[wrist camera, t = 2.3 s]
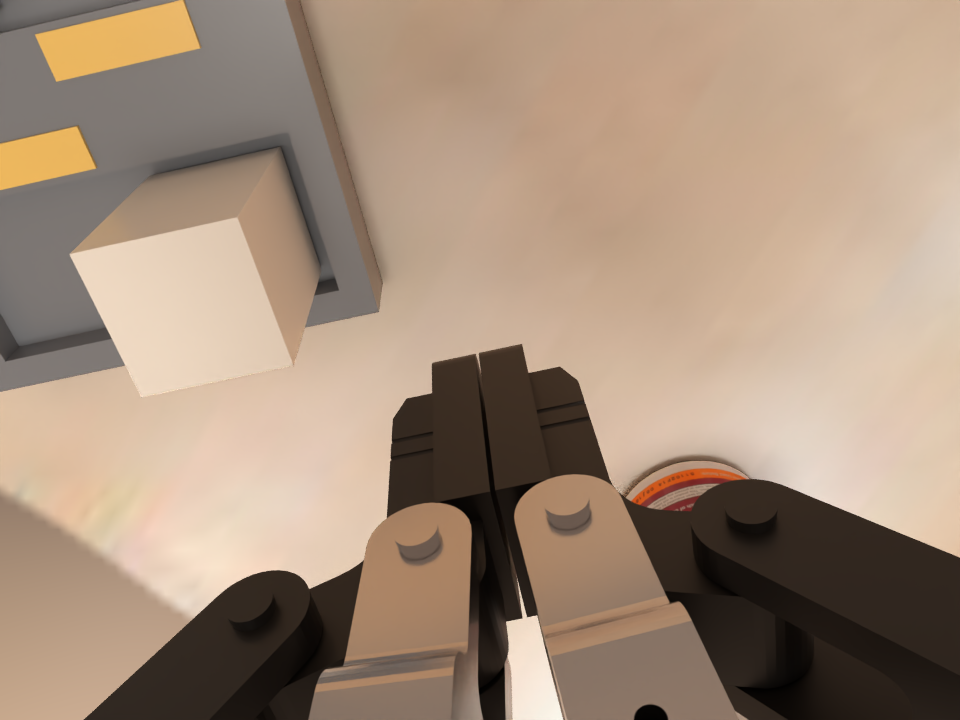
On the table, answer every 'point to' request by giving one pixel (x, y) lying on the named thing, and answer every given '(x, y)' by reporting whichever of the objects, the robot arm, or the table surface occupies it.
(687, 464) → the pill bottle
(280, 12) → the switch board
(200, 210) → the tab
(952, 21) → the table surface
